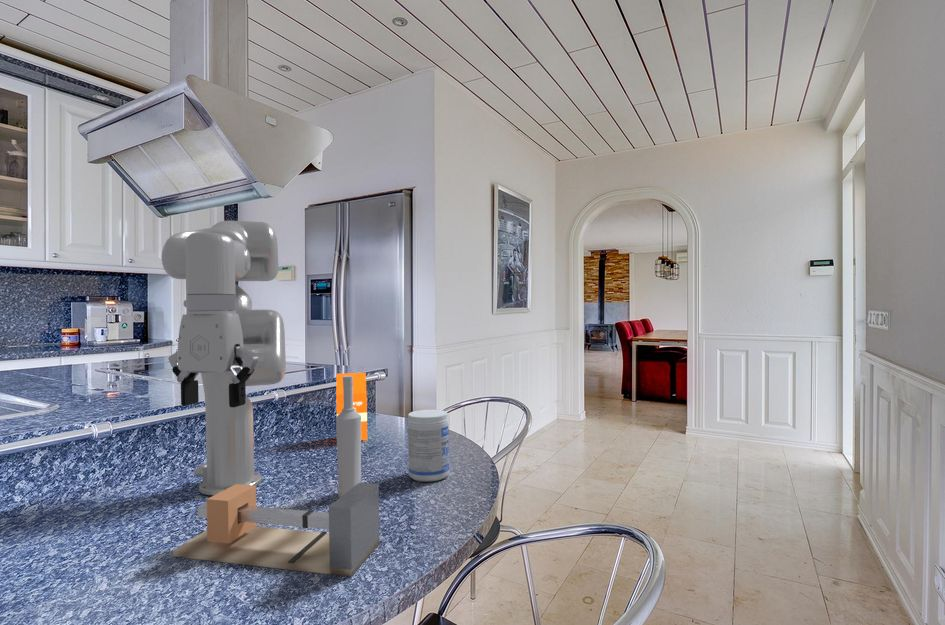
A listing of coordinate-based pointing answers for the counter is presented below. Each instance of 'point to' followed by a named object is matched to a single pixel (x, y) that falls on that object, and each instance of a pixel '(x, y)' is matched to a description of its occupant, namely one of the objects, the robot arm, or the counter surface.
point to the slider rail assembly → (330, 523)
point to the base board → (269, 550)
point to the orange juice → (354, 398)
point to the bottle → (348, 441)
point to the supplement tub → (428, 445)
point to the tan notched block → (229, 513)
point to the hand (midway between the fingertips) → (213, 405)
